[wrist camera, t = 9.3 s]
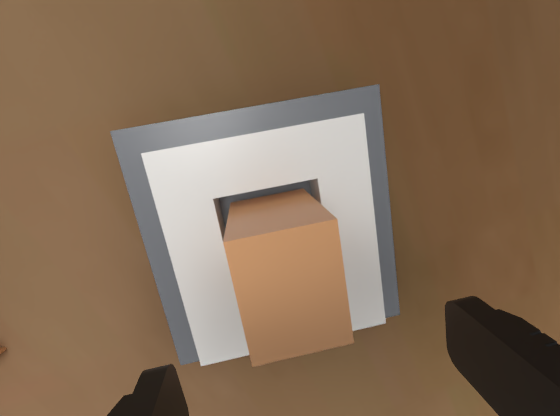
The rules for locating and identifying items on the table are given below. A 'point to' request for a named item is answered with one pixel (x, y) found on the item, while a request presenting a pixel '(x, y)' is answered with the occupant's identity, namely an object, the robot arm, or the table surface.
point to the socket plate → (251, 184)
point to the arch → (2, 349)
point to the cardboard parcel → (287, 276)
